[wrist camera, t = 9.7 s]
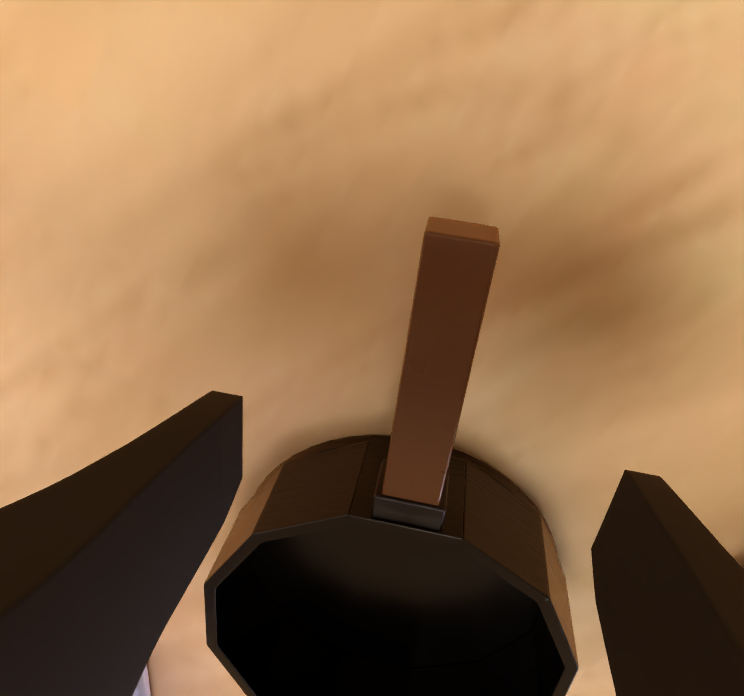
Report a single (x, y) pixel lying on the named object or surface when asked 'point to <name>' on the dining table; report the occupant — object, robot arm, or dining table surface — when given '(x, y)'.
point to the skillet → (399, 538)
